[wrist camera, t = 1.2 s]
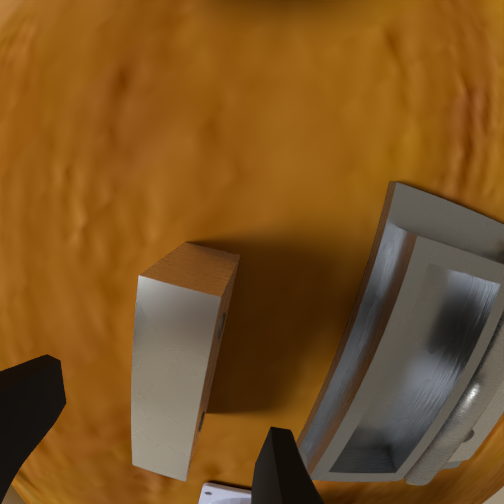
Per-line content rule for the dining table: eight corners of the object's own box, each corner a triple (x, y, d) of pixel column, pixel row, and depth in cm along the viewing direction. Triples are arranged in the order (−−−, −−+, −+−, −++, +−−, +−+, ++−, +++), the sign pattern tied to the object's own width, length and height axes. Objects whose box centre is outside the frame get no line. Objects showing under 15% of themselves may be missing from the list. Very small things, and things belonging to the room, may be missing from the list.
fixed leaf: (453, 460, 15) (467, 489, 12) (287, 458, 16) (288, 499, 13) (558, 254, 12) (593, 267, 9) (389, 181, 12) (422, 183, 9)
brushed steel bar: (207, 412, 15) (187, 481, 11) (164, 400, 15) (132, 464, 11) (242, 254, 13) (223, 297, 8) (186, 241, 13) (138, 275, 8)
